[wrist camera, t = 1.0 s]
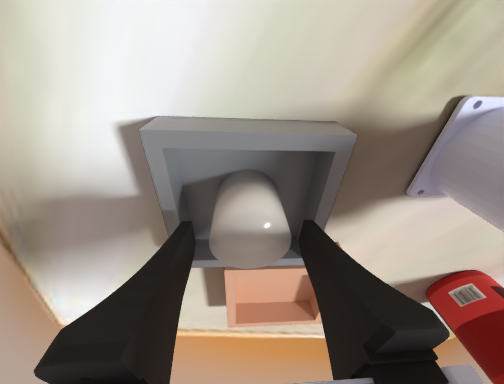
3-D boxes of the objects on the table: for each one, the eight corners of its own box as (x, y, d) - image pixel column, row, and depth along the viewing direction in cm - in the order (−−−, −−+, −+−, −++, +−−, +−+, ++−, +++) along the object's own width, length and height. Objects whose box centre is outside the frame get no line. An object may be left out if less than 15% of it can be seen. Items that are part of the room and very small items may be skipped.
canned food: (413, 300, 29) (491, 407, 20) (447, 268, 25) (566, 387, 16) (458, 299, 30) (554, 402, 21) (499, 268, 26) (642, 382, 16)
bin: (335, 121, 13) (357, 135, 11) (302, 239, 20) (311, 264, 18) (158, 116, 13) (138, 129, 10) (185, 241, 19) (177, 268, 17)
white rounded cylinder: (281, 169, 15) (298, 212, 10) (274, 218, 17) (285, 267, 13) (214, 168, 14) (205, 212, 10) (218, 219, 17) (212, 269, 13)
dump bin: (338, 242, 21) (351, 267, 18) (313, 299, 27) (320, 323, 25) (226, 244, 20) (224, 270, 17) (228, 302, 27) (227, 327, 24)
